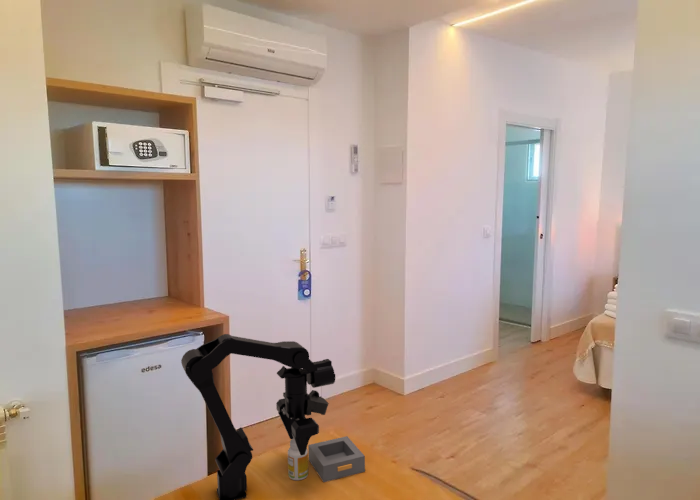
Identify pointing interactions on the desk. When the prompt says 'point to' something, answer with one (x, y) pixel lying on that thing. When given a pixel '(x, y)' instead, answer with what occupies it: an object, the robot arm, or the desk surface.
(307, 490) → the desk surface
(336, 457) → the socket block
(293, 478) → the supplement bottle
